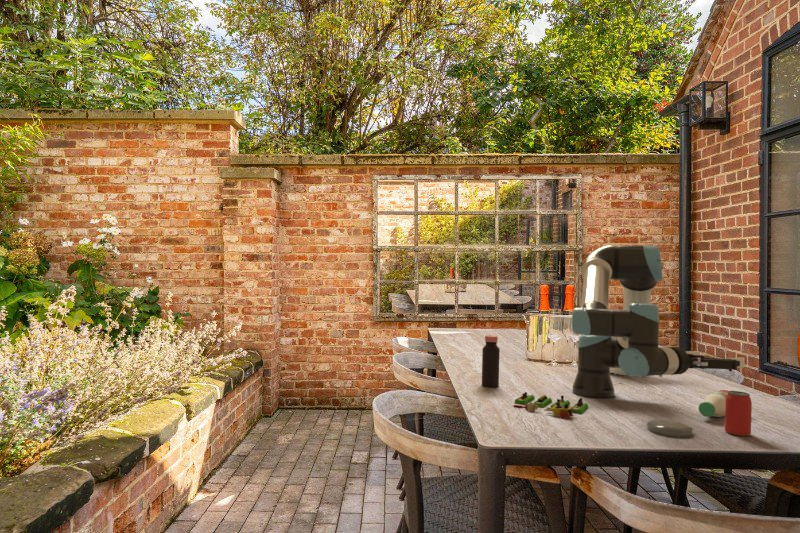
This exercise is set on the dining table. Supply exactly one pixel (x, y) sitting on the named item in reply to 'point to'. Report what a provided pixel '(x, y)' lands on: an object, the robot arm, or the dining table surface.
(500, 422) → the dining table surface
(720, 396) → the milk bottle
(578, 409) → the toy garden set
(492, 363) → the vinegar
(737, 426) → the beer can
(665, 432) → the pad
